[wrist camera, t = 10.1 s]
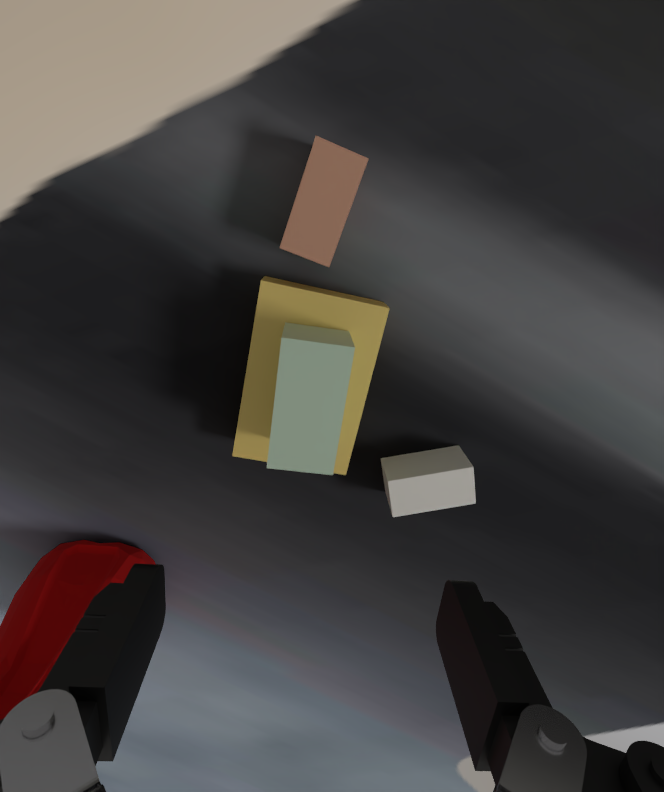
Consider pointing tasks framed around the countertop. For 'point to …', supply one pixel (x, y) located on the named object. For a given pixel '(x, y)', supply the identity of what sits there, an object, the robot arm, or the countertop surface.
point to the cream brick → (428, 481)
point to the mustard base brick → (272, 312)
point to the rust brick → (323, 201)
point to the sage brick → (309, 398)
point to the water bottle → (54, 610)
